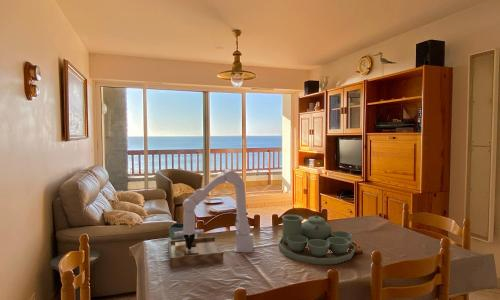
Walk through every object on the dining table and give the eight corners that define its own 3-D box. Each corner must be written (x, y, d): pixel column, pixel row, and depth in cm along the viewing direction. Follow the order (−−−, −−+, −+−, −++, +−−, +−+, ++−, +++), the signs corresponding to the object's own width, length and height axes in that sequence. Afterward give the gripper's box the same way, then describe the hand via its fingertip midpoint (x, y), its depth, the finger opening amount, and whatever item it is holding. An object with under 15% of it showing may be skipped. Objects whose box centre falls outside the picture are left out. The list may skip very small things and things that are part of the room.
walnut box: (214, 244, 174) (214, 236, 174) (223, 261, 151) (223, 252, 151) (168, 248, 167) (168, 240, 167) (170, 267, 144) (170, 258, 144)
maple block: (185, 249, 160) (185, 241, 160) (186, 252, 155) (185, 244, 155) (175, 250, 159) (175, 242, 158) (175, 253, 154) (175, 245, 154)
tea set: (294, 269, 144) (295, 234, 142) (270, 239, 183) (270, 212, 182) (371, 262, 152) (372, 229, 151) (332, 235, 191) (333, 208, 190)
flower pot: (182, 243, 174) (182, 228, 174) (168, 242, 176) (167, 227, 175) (188, 238, 183) (188, 223, 182) (174, 237, 185) (174, 222, 184)
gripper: (174, 226, 151) (175, 253, 152) (204, 223, 155) (204, 250, 156) (174, 222, 158) (174, 248, 159) (202, 219, 162) (202, 245, 163)
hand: (189, 248), depth 158 cm, fingers closed
